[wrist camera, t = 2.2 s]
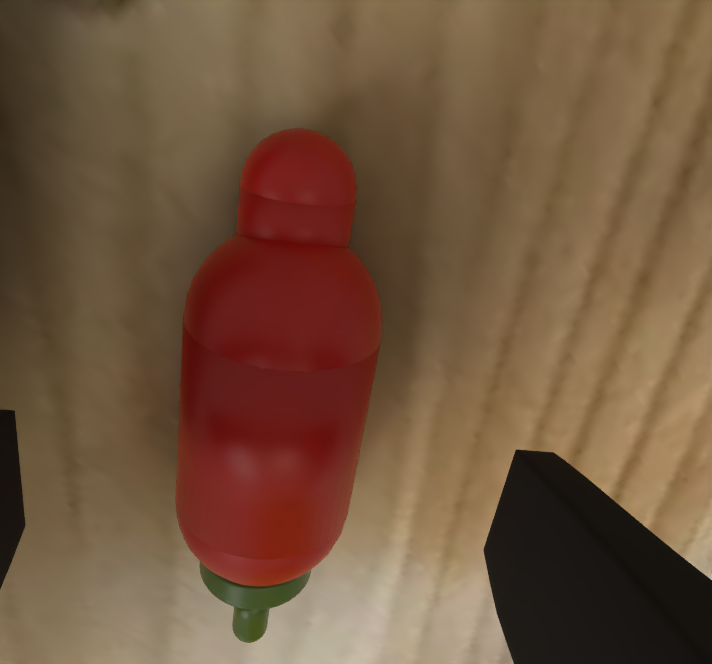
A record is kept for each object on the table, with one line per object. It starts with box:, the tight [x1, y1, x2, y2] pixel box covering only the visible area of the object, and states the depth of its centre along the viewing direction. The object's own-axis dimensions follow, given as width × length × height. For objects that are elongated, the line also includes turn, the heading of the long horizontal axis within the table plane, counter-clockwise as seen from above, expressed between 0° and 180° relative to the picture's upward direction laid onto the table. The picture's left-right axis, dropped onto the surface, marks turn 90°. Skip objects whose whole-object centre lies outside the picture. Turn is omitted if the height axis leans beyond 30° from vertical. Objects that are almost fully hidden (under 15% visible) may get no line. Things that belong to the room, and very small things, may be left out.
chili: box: [176, 128, 382, 643], centre depth 11 cm, size 10×3×3 cm, turn 171°
